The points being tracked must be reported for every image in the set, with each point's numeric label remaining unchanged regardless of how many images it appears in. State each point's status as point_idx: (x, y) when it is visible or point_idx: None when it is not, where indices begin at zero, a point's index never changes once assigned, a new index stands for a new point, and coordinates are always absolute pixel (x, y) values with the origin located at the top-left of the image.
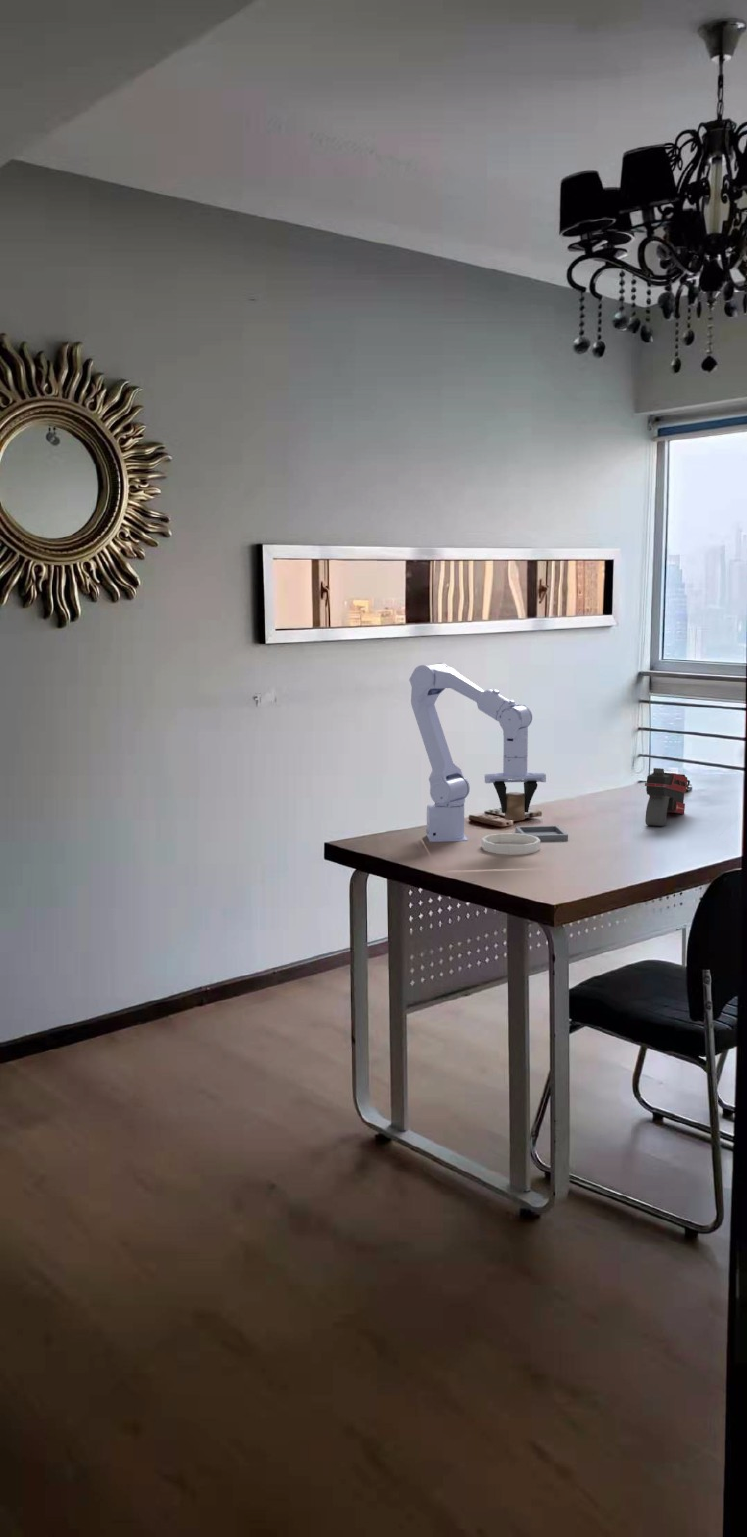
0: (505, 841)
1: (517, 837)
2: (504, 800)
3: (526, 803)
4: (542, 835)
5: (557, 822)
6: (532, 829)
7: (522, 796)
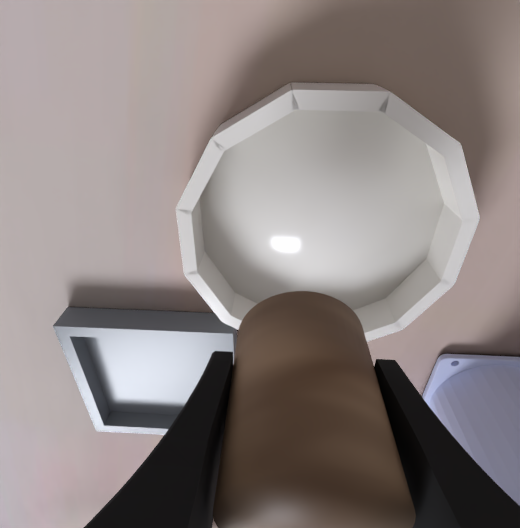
0: None
1: None
2: (430, 442)
3: (218, 402)
4: (156, 330)
5: (106, 484)
6: None
7: (253, 464)
